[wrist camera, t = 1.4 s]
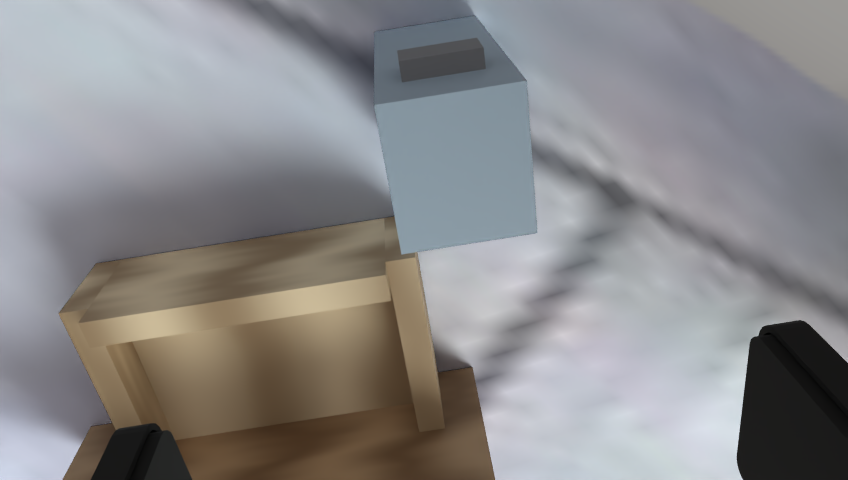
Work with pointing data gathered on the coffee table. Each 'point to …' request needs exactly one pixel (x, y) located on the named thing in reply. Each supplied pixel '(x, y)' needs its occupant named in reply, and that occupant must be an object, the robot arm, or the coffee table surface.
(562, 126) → the coffee table surface
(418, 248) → the cabinet block
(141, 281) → the wooden holder
